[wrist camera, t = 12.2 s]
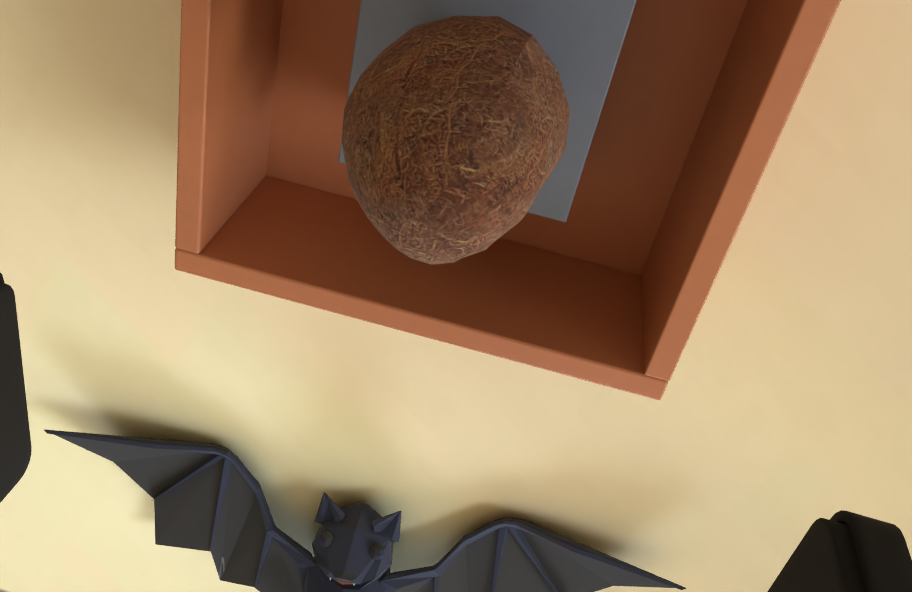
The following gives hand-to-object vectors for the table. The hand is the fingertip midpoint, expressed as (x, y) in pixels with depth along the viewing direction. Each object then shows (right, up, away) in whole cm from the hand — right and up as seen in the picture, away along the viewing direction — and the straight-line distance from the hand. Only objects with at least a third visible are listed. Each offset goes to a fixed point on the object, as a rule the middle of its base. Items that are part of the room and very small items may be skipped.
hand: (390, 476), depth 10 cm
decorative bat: (-4, -10, +32) cm, 34 cm away
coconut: (+1, +8, +14) cm, 16 cm away
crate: (+2, +11, +18) cm, 21 cm away
